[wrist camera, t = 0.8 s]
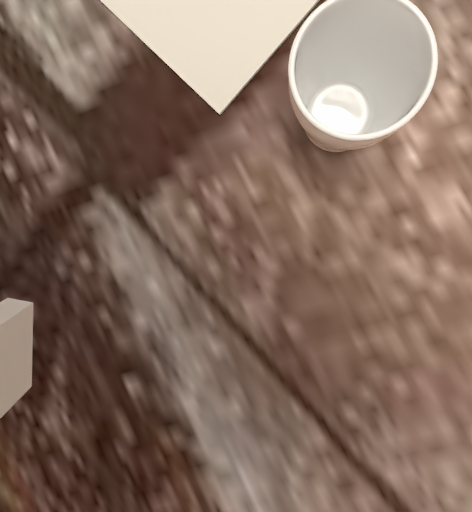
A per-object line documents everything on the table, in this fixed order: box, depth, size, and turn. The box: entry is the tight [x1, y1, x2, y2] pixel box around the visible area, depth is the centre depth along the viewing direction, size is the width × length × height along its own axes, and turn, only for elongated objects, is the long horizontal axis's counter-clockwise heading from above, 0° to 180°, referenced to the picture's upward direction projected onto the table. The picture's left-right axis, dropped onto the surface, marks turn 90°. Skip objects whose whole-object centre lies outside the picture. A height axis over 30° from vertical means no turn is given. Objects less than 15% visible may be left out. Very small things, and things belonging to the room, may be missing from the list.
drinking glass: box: [288, 0, 438, 152], centre depth 28 cm, size 7×7×15 cm
